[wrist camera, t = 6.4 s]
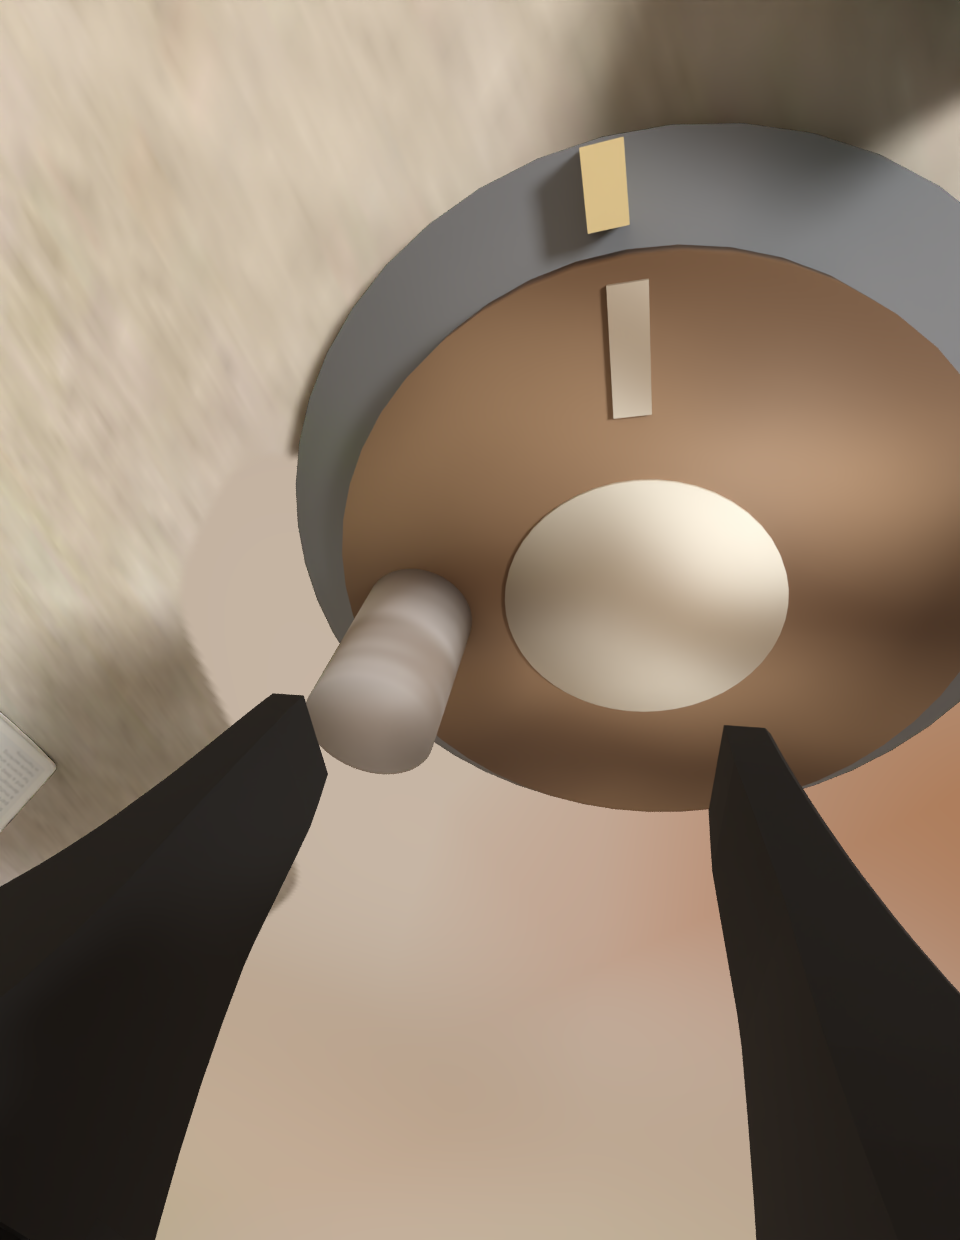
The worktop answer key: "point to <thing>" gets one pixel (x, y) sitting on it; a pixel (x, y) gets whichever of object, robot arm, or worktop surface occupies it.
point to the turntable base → (610, 222)
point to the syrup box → (19, 770)
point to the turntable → (652, 533)
